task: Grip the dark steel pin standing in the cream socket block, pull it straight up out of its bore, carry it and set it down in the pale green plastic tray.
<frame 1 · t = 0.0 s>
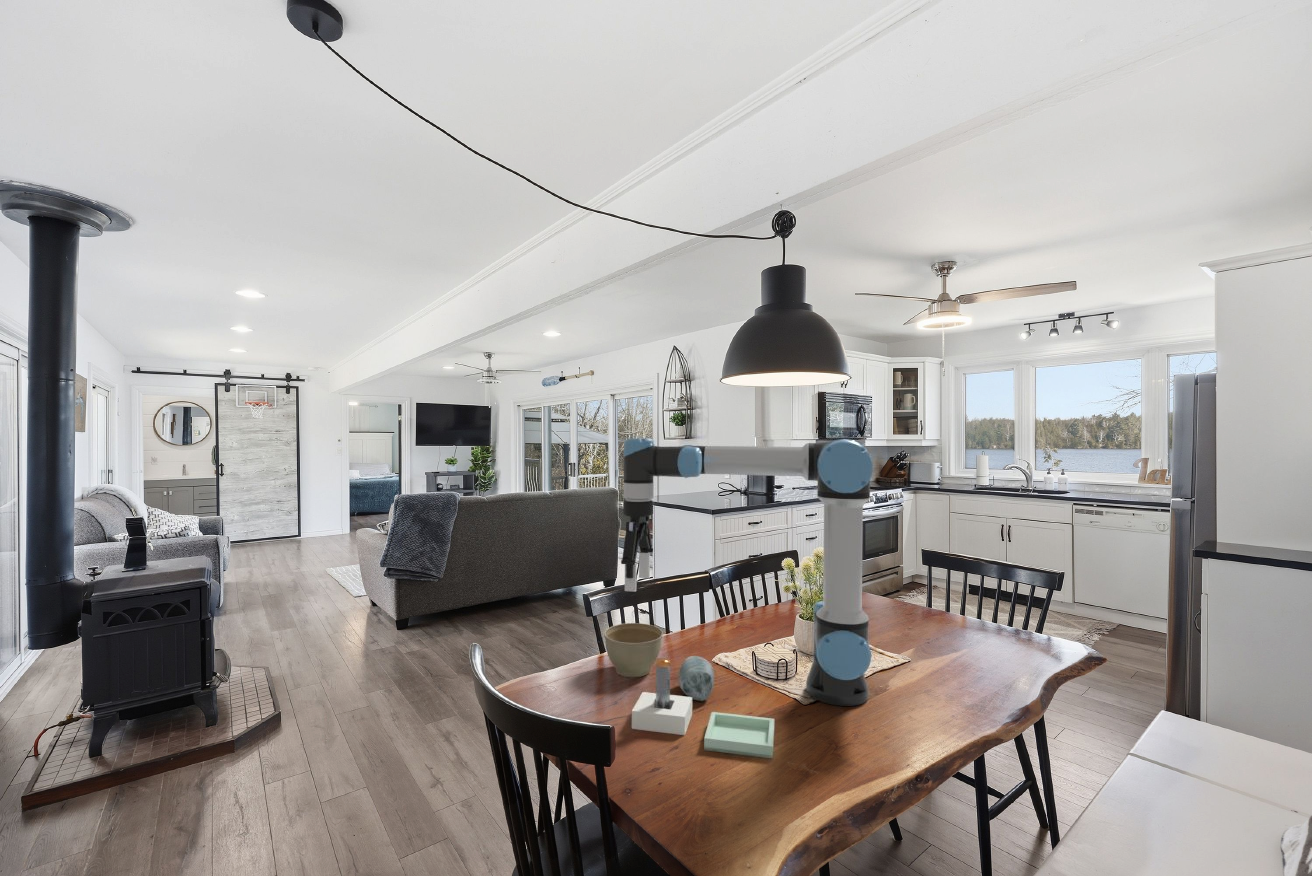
hand: (637, 584, 149), 28 cm above the table, fingers open, 13 cm apart
tray: (740, 739, 127), on the table
blue-grey stone: (696, 693, 151), on the table
pin: (662, 690, 135), in the socket block
planter bowl: (633, 672, 164), on the table
socket block: (662, 721, 135), on the table
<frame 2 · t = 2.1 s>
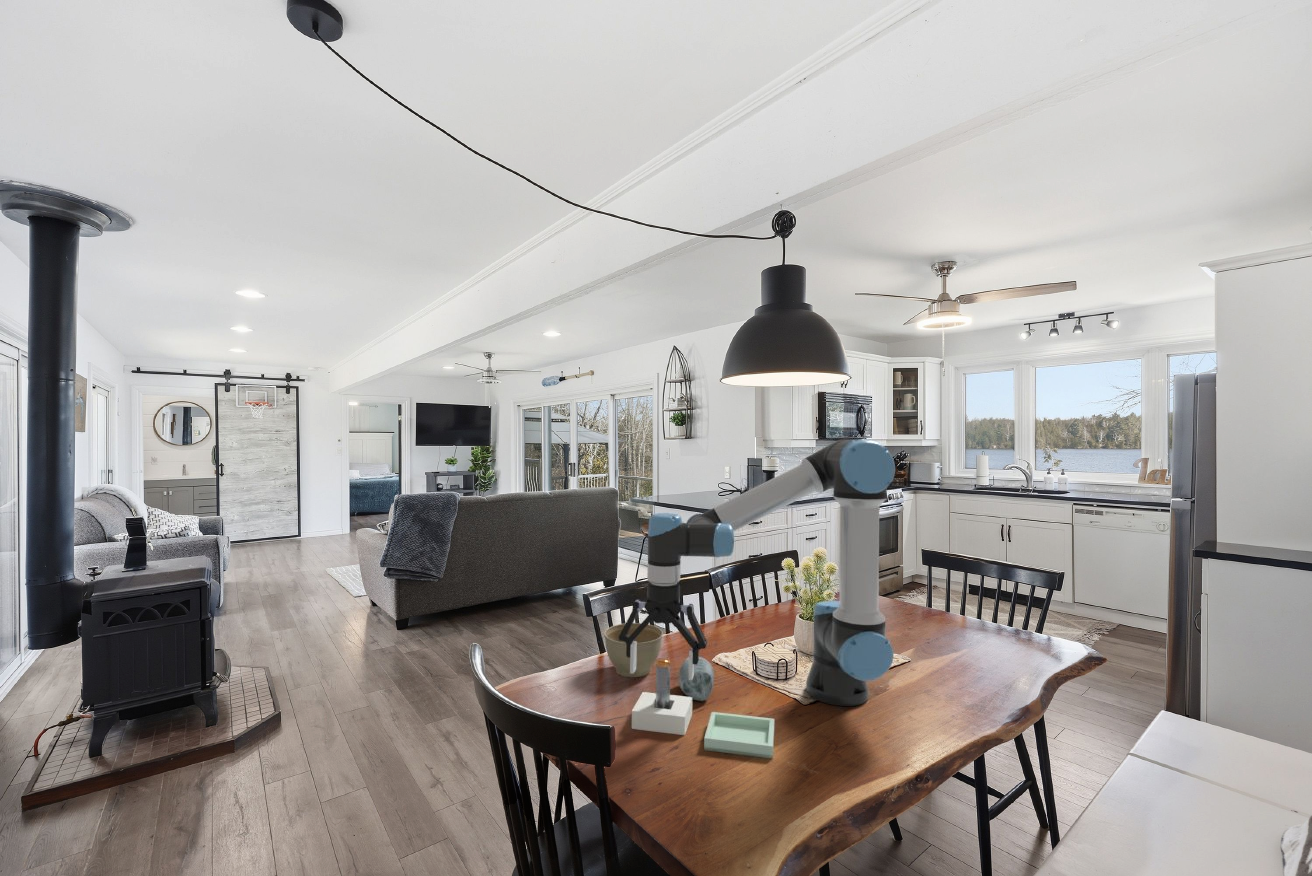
hand: (661, 674, 135), 11 cm above the table, fingers open, 13 cm apart
nothing on the table moved.
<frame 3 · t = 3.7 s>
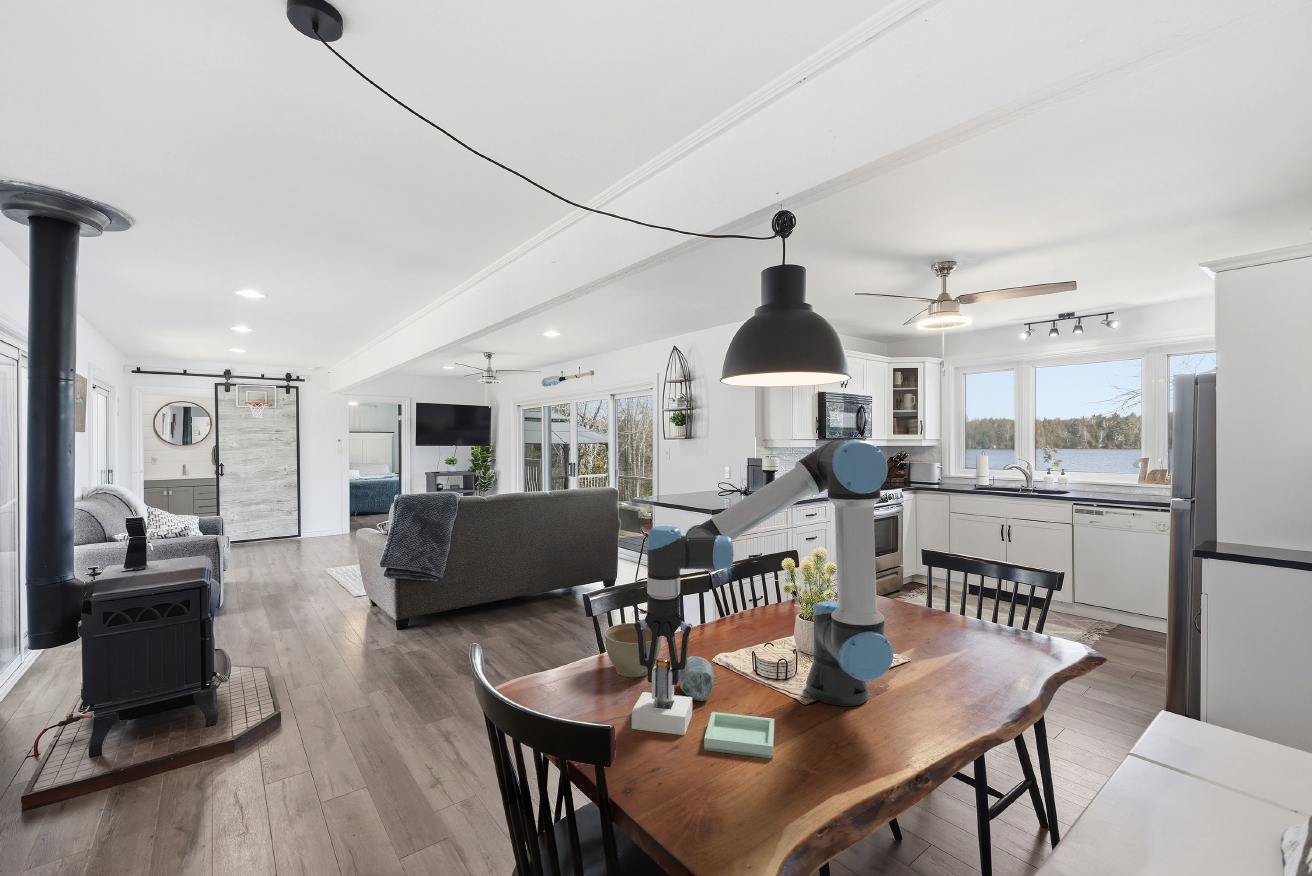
hand: (662, 697, 135), 6 cm above the table, fingers closed on pin, 3 cm apart
pin: (662, 690, 135), in the socket block, touching gripper
everything else where it was.
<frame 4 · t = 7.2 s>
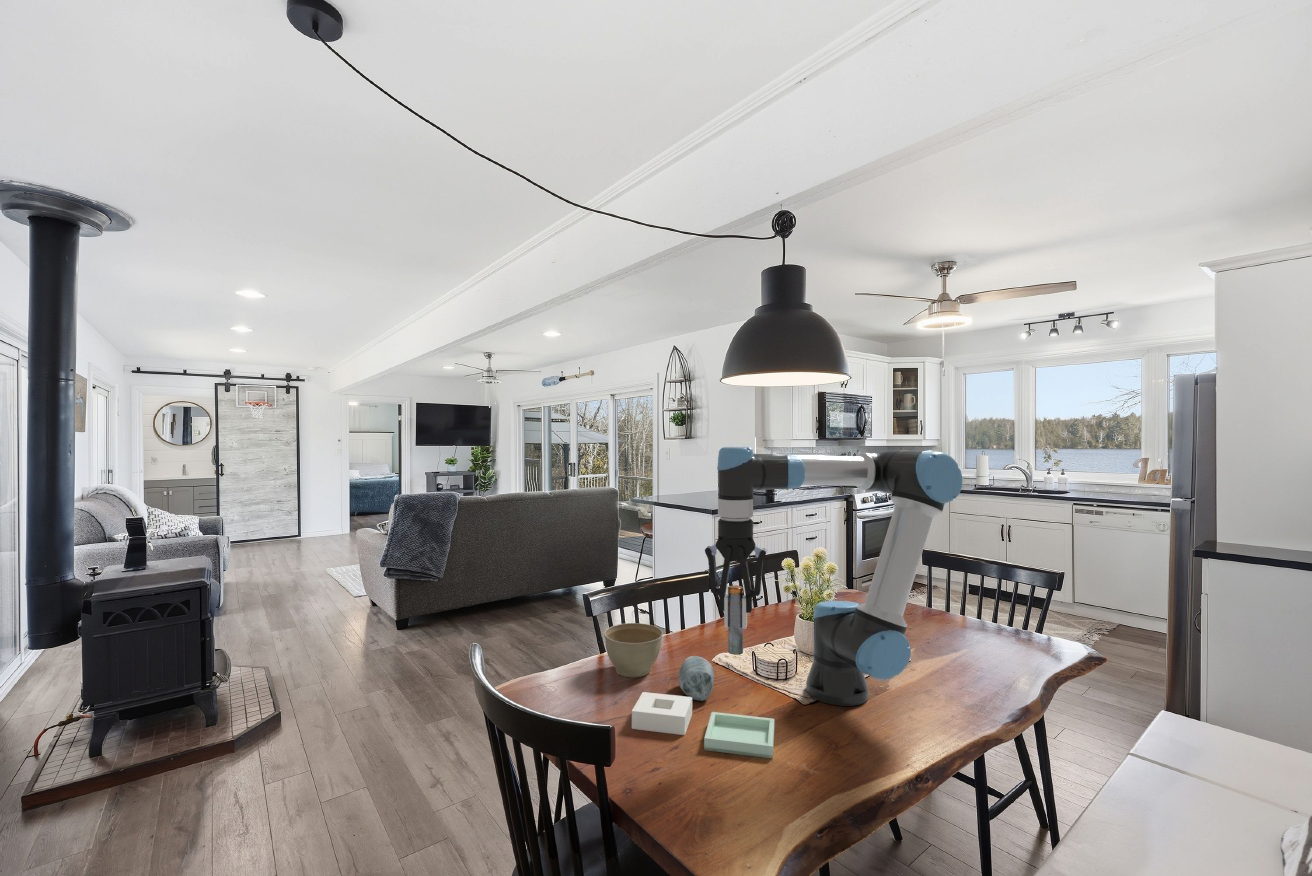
hand: (735, 626, 128), 24 cm above the table, fingers closed on pin, 3 cm apart
pin: (735, 619, 128), point 26 cm above the table, touching gripper
everything else where it was.
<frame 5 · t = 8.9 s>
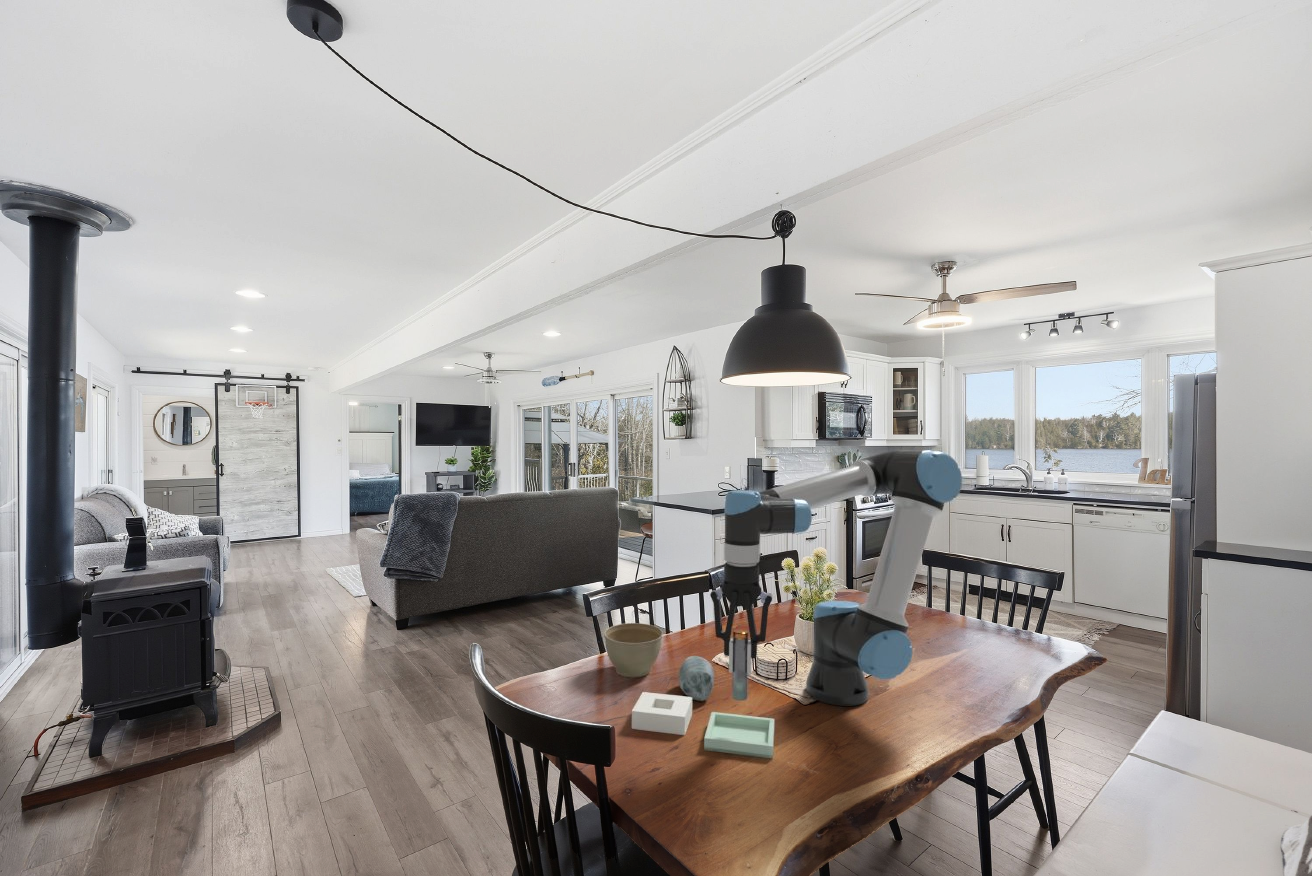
hand: (740, 671, 127), 15 cm above the table, fingers closed on pin, 3 cm apart
pin: (740, 664, 127), point 16 cm above the table, touching gripper
everything else where it was.
when the fingers open (8 cm above the table, at t = 10.6 s): pin drops 1 cm, resting on tray.
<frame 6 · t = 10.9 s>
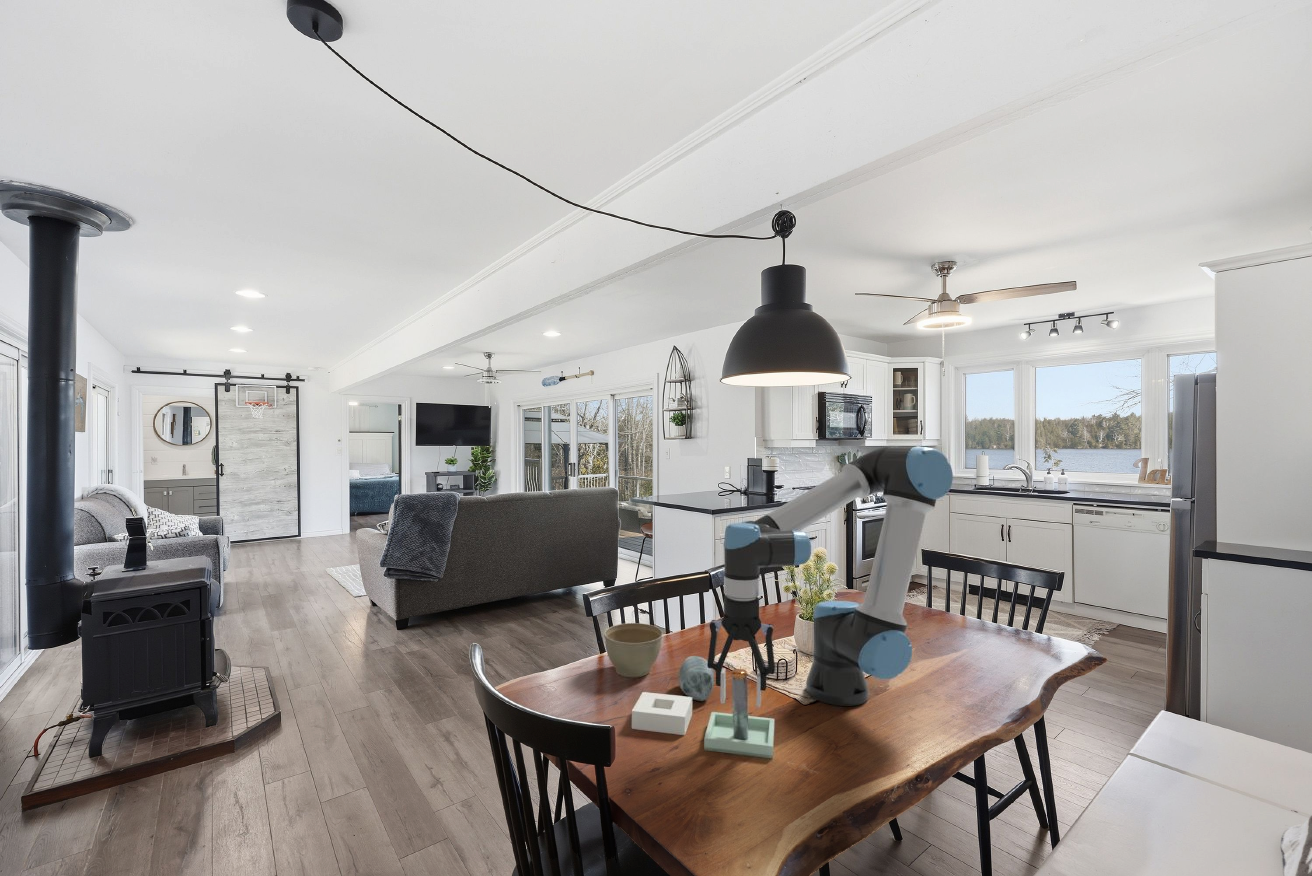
hand: (740, 702, 127), 8 cm above the table, fingers open, 7 cm apart
pin: (740, 704, 127), in the tray, point 8 cm above the table
everything else where it was.
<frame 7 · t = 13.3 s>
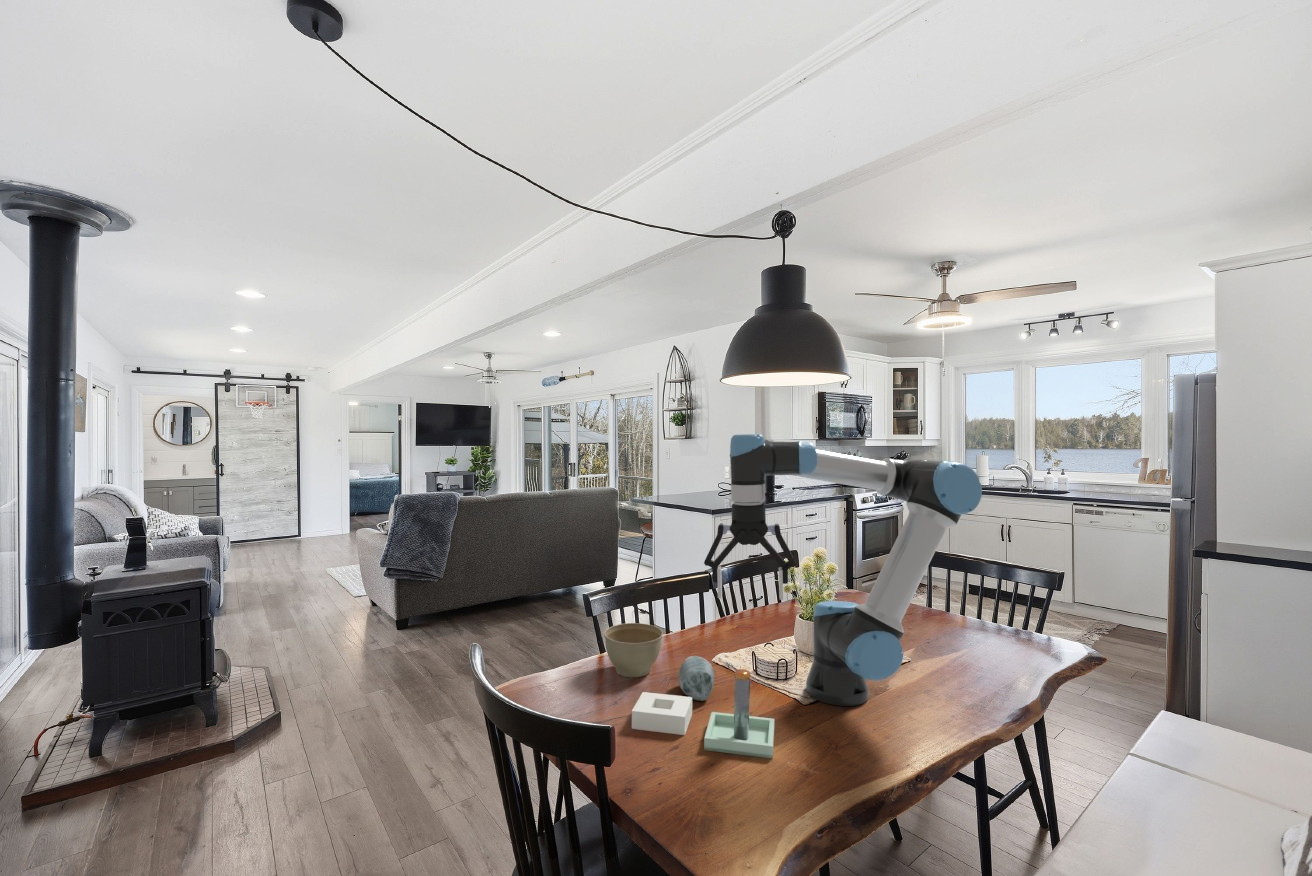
hand: (750, 597, 133), 29 cm above the table, fingers open, 13 cm apart
nothing on the table moved.
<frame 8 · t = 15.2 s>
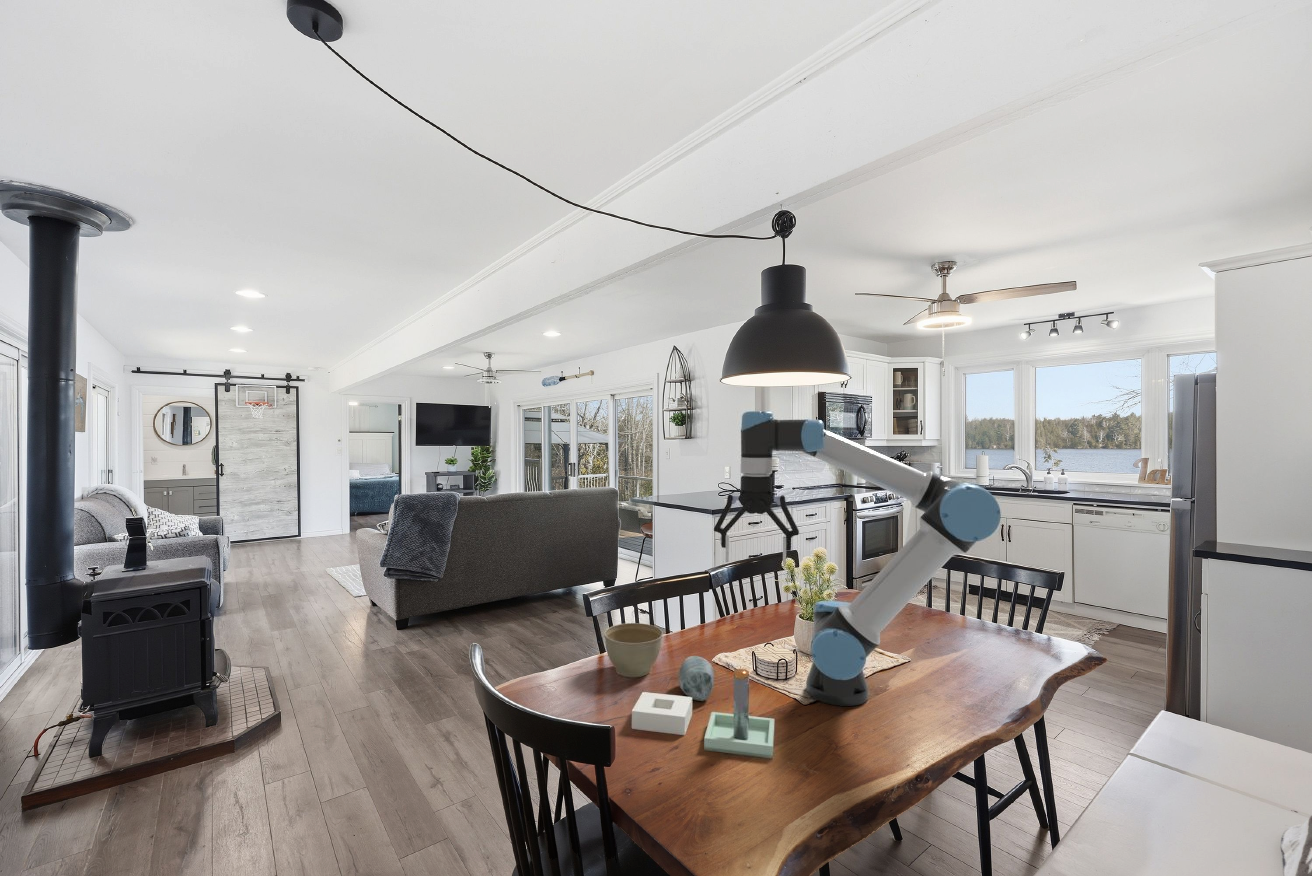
hand: (755, 562, 143), 35 cm above the table, fingers open, 13 cm apart
nothing on the table moved.
at the end: pin inside the target area on the tray (0.1 cm from its centre), point 7.6 cm above the tray's base; pin touching tray; the gripper is holding nothing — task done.
